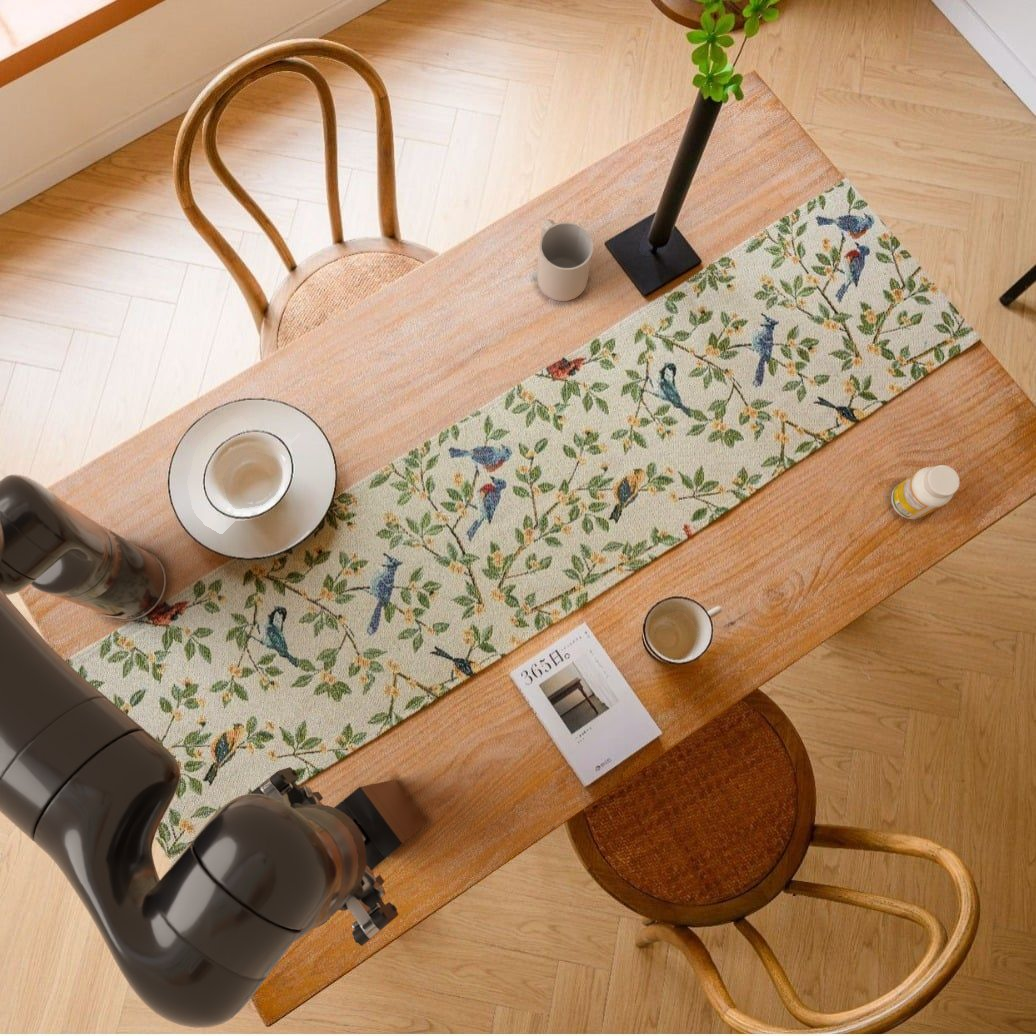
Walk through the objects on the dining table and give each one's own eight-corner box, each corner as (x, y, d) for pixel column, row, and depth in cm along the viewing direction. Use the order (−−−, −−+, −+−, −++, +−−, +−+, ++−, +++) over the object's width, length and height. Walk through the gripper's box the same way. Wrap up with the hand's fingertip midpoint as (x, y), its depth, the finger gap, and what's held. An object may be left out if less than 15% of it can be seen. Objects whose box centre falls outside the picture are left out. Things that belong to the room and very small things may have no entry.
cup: (550, 310, 129) (554, 278, 120) (519, 253, 131) (521, 217, 122) (595, 290, 130) (602, 257, 121) (564, 234, 132) (569, 197, 123)
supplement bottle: (889, 516, 122) (921, 497, 113) (891, 479, 124) (922, 456, 114) (929, 523, 122) (964, 503, 113) (930, 485, 123) (965, 462, 114)
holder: (353, 814, 111) (302, 833, 82) (395, 779, 112) (359, 786, 83) (385, 857, 110) (345, 892, 81) (427, 821, 111) (402, 843, 82)
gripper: (411, 916, 60) (429, 883, 76) (284, 744, 63) (326, 746, 78) (319, 997, 59) (356, 946, 74) (192, 817, 61) (254, 805, 77)
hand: (341, 844), depth 76 cm, fingers open, 8 cm apart
